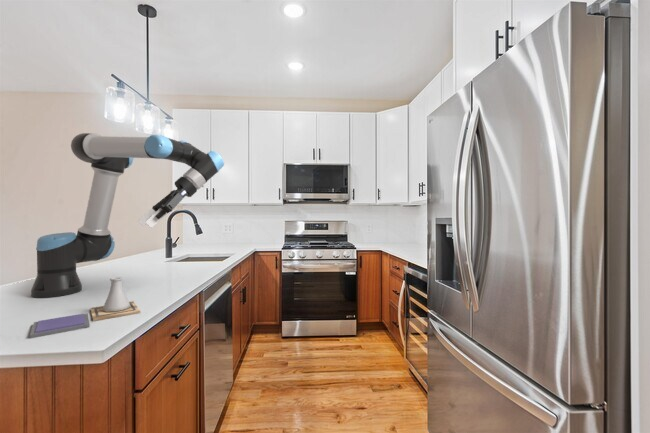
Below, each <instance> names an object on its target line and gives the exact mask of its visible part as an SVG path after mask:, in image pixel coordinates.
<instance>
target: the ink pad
mask: <svg viewBox="0 0 650 433" xmlns="http://www.w3.org/2000/svg"><path fill="white" fill-rule="evenodd" d="M90 327H91V326H90V319H89V314H88V313H80V314H79V313H78V314H73V315H67V316H61V317H60V316H59V317H53V318H48V319H42V320H38V321H34V322H33V325H32V328H31V331H30V334H29V339H33V338H39V337H44V336H45V337H46V336H49V335H55V334H59V333H65V332H69V331H76V330H81V329H86V328H90Z"/></svg>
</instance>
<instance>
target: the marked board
mask: <svg viewBox="0 0 650 433" xmlns="http://www.w3.org/2000/svg"><path fill="white" fill-rule="evenodd" d="M128 302H129V304H130V307H129V308H127V309H124V310H120V311H116V312H106V311H102V309H103V306H104V305H101V306H95V307H90V313H91V317H92V322H97V321H103V320H109V319H113V318H119V317H120V318H121V317H125V316H130V315H137V314H141V310H140V308H139V307H138V305H137V304H136V303H135V301H133V300H132V301H128Z"/></svg>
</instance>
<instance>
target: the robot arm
mask: <svg viewBox="0 0 650 433" xmlns="http://www.w3.org/2000/svg"><path fill="white" fill-rule="evenodd" d="M70 143H71V144H70V149H71V151H72V154H73V155H74V156H75V157H76V158H77V159H79V160H80V161H82V162H84V163H88V164H91V165H90V167H91V169H92V170H93V172H94V173H93V178H92V181H91V182H92V183H91V188H90V192H89V196H88V201H87V207H86V211H85V216H84V221H83V225H81V226H80V227H79V228H78V229H77V234H76V232H72V231H71V232H60V233H59V232H58V233H52V234H45V235H42V236H40V237H39V238H38V239H37V241H36V272H37V273H36V277H35V280H34V282H33V285H32V286H31V287H32V288H31V291H30V295H31V297H32V298H36V299H37V298H38V299H39V298H54V297H55V298H56V297H61V296H66V295H72V294H75V293H79V292H81V291H82V290H83V285H82V284H83V283H82V282H81V280H80V277H79V275H78V272H77V264H79V263H86V262H97V261H100V260H104V259H107V258H108V257H110V256H111V254H113V252H114V250H115V245H116V244H115V243H116V242H115V240H114V237H113V236H112V234H111V231H110V230H109V229H108V227H109V223H110V219H111V213H112V208H113V205H114V199H115V194H116V190H117V185H118V181H119V177H120V176H122V175H124V173H125V170H126V169H128V168H130V166H132V164H133V162H134V158H135V159H155V160H160V159H161V160H168V161H173V162H177V163H182V164H185V165H187V166H188V167H190V168H189V169H188V170H187V171H186V172H184V173H183V175H182V176H180V177H179V178H178V179H176V180H175V182H174V186H175V187H176V188H177V189H173V190H171V191H170V192H169V193H168V194H167V195H166V196H164V197H163V198H162V199H161V200H160V201H158V202H157V203H156V204H154V205H152V208H151V209H150V210H148V212H146V213H145V214H144V215H143V216H142V217H141V218H139V219H138V220H137V222H138V223H139V224H140V225H141V226H143V227H145V226H146V225H148V226H149V228H151V229H152V228H154V227H155V226H156V225H157V223H158V222H160V221H161V220H162V219H163V218H165V216H166V215H167V214H169V213H171V212H173V210H175V208H176V207H177V206H178V204H180V203H181V202H182V200H183V199H185V197H187V198H192V197H193V196H194V195H195V194H196V193H197V192H198V191H197V190H200V189H201V188H205V184H206V183H207V182H208V181H209V180H211V178H213V177H214V176H216V174H218V173H219V171H220V170H221V169H222V168H223V167H225V161H224V159H223V157H222V156H221V155H220V154H219V153H218V152H216V151H215V150H210V151H209V152H207V153H206V152H204V151H202V150H201V149H199V148H197V147H196V146H194V145H192V144H191V143H190V142H187V141H185V140H175V139H172V138H170V137H167V136H165V135H159V134H151V135H149V136H105V135H103V136H102V135H100V134H98V133H89V132H85V133H83V132H82V133H79V134H77V135H75V136H74V137H73V138H72V139H71V142H70Z"/></svg>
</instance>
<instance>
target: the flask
mask: <svg viewBox="0 0 650 433" xmlns="http://www.w3.org/2000/svg"><path fill="white" fill-rule="evenodd" d="M109 281H110V283H111V284H110V289H109V292H108V295H107V297H106V300H105V303H104V305H102V306H103V309H102V311H106V312H116V311H120V310H124V309H127V308H129V307H130V304H129V302H130V301H129V300H128V298H127V295H126V294H125V292H124V289H123V284H122V283H123V282H122V281H123V277H121V276H120V277H119V276H118V277H112V278H110V279H109Z"/></svg>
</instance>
